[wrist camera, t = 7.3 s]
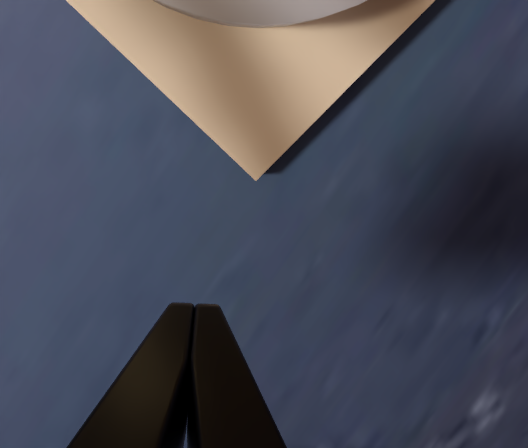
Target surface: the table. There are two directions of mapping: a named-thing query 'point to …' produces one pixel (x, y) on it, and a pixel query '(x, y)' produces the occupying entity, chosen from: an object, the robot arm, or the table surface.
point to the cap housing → (252, 60)
